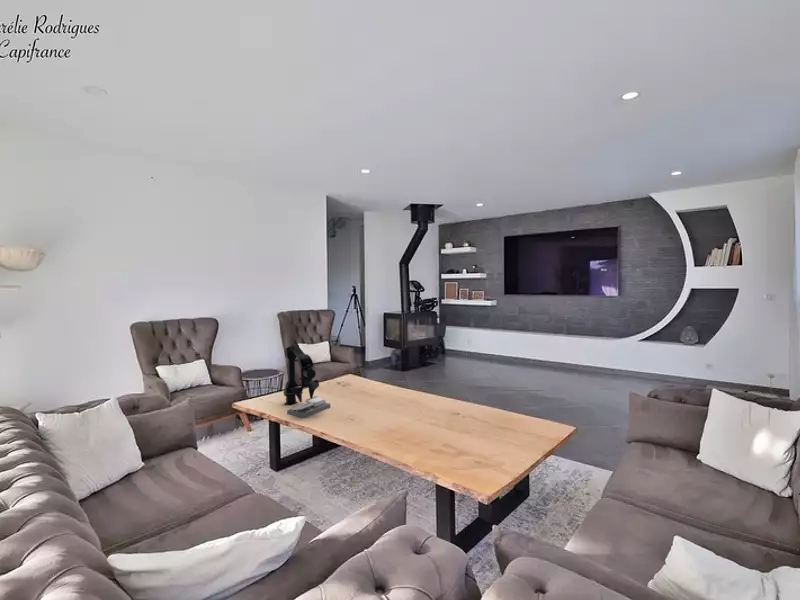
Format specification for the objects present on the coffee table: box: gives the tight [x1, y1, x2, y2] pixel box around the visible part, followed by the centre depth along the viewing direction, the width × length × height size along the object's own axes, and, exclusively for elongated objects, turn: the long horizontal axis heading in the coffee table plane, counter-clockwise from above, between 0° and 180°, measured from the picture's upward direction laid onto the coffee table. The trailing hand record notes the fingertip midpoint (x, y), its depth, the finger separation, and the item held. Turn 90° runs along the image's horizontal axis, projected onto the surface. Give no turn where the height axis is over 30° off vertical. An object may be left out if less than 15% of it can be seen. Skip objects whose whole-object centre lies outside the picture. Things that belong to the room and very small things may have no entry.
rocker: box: [304, 395, 327, 407], centre depth 269 cm, size 9×10×2 cm
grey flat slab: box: [291, 402, 313, 410], centre depth 259 cm, size 9×10×2 cm
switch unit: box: [286, 402, 331, 419], centre depth 264 cm, size 15×24×4 cm, turn 148°
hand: (306, 400), depth 257 cm, fingers open, 9 cm apart
